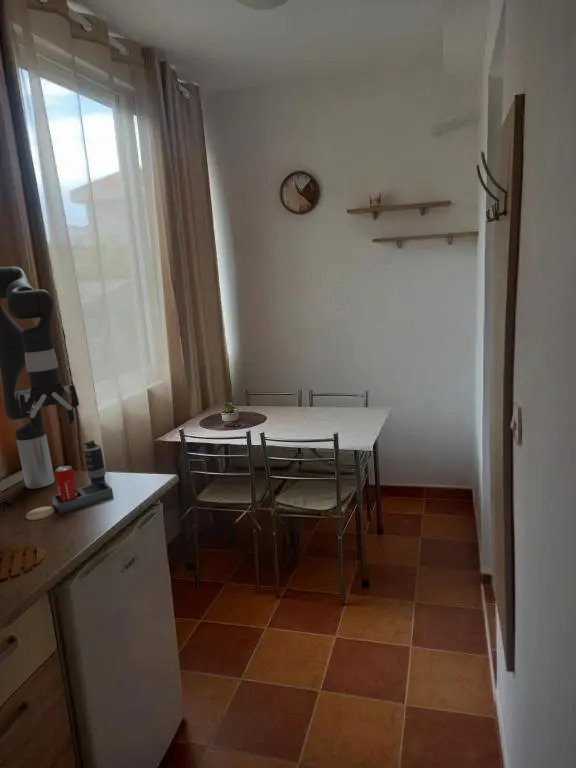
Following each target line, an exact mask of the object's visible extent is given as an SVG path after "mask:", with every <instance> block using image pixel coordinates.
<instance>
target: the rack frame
mask: <svg viewBox="0 0 576 768" xmlns="http://www.w3.org/2000/svg"><path fill="white" fill-rule="evenodd" d="M76 488H77V487H76ZM77 494H78V497H77V498H74V499H70V500H67V501H64V502H60V498H59V493H57V494H53V495H51V498H52V503H53V504H52V505H53V507H54V508H55V510H56V511H57V512H58V514H59V515H61V514H65V513H68V512H71V511H74V510H77V509H81V508H83V507H84V508H85V507H87V506H90V505H94V504H97V503H100V502H103V501H107V500H110V499H113V498H114V492H113V488H112V487H111V486H110V485H109V484H107V482H106V481H105V482H104V481H102V482H98V483H95V484H91V483H90V484H88V485H86V486H81V487H78V488H77Z"/></svg>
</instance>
